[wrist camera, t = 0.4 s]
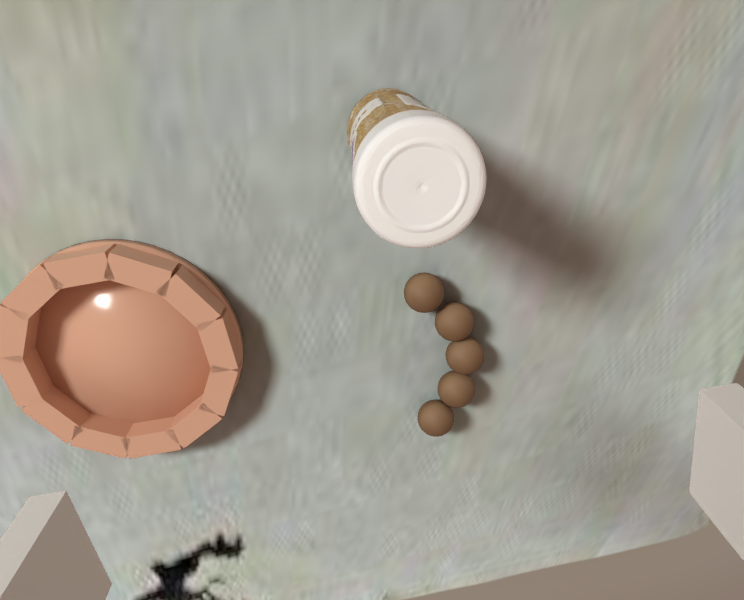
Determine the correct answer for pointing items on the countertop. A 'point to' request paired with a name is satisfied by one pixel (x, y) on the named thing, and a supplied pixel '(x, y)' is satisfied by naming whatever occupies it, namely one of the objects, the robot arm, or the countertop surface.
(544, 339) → the countertop surface
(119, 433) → the saucer
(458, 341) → the bead string
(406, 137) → the sprinkles bottle
